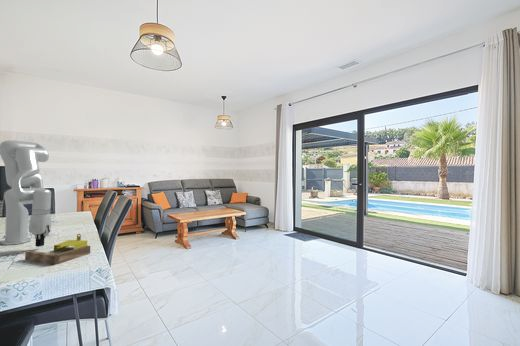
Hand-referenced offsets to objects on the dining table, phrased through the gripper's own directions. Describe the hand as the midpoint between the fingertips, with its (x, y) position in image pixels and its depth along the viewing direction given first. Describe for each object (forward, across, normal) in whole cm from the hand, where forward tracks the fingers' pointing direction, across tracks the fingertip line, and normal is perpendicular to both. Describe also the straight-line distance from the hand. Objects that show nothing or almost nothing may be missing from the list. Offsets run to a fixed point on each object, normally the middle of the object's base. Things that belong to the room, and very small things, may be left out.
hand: (39, 245), depth 134 cm
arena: (+1, +21, -5) cm, 21 cm away
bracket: (+2, +16, +4) cm, 16 cm away
